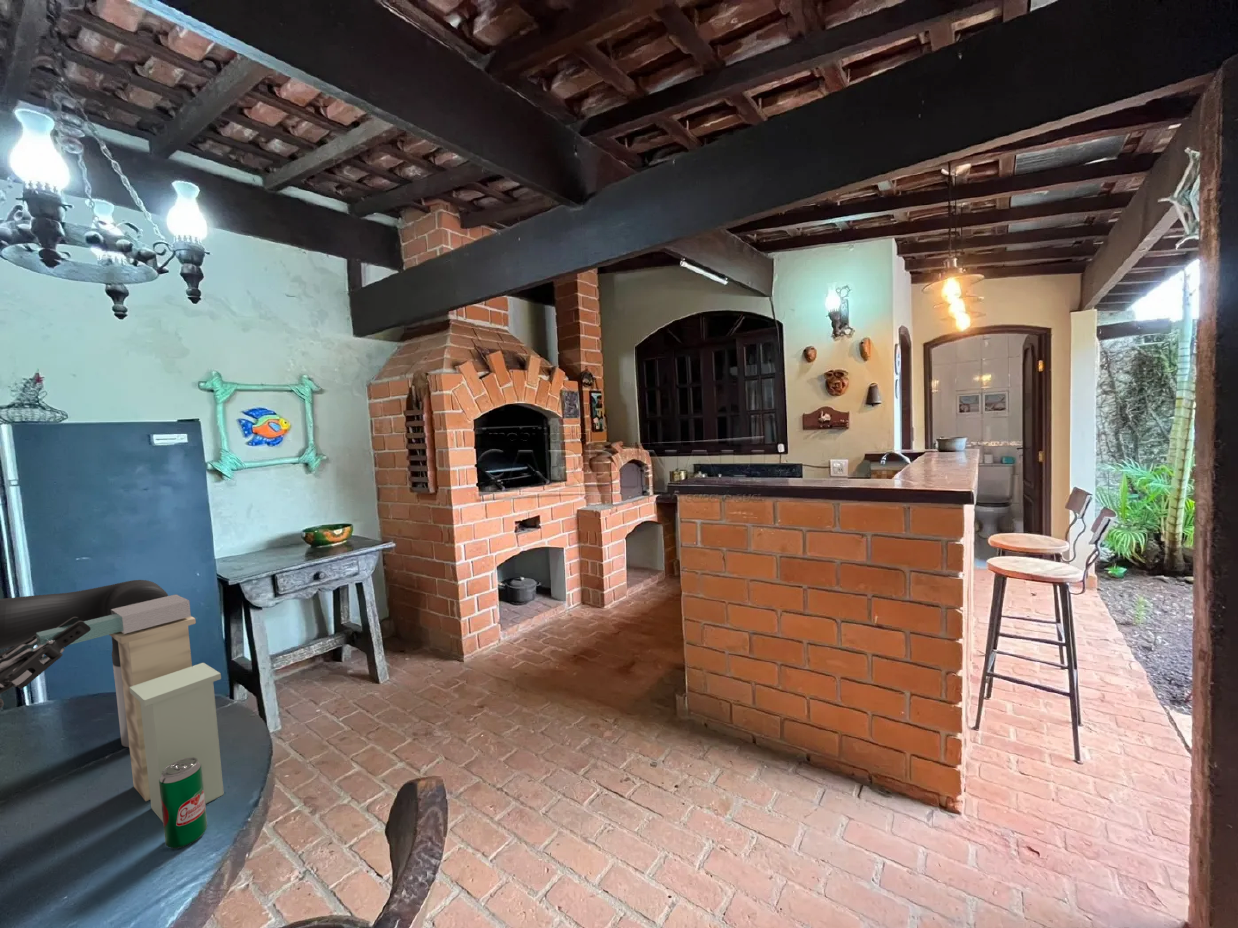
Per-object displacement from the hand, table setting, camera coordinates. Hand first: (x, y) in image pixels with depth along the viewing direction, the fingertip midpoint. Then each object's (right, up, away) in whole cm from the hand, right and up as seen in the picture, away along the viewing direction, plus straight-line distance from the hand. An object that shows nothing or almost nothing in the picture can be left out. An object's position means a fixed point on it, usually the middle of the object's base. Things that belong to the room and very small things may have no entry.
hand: (83, 622), depth 83 cm
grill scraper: (+2, -2, +4) cm, 5 cm away
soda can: (+21, -33, -4) cm, 39 cm away
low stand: (+14, -33, +4) cm, 36 cm away
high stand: (+6, -32, +10) cm, 34 cm away
